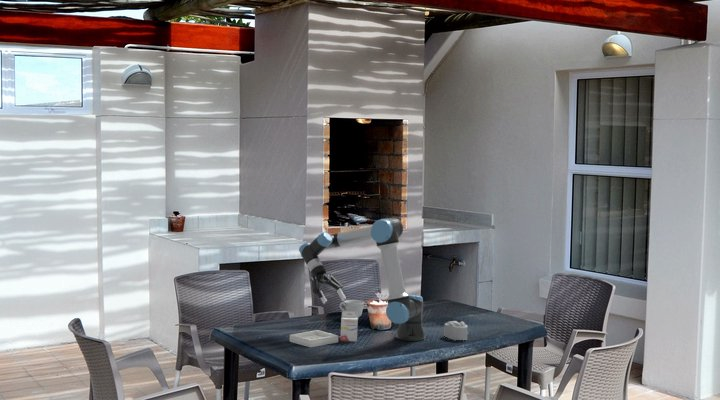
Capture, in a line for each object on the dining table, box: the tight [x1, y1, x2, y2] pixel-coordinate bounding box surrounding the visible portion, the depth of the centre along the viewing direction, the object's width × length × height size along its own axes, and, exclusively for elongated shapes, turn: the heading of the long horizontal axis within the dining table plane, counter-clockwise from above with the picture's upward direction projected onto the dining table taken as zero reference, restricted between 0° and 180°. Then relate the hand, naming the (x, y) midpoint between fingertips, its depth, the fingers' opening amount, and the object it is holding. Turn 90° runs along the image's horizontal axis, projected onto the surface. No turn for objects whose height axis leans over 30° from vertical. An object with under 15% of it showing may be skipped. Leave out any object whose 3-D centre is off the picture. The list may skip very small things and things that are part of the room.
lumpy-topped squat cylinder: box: [443, 320, 469, 342], centre depth 477 cm, size 10×13×9 cm
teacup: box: [339, 299, 365, 320], centre depth 519 cm, size 12×15×10 cm
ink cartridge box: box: [340, 310, 359, 342], centre depth 463 cm, size 9×5×15 cm, turn 92°
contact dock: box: [289, 329, 339, 348], centre depth 457 cm, size 16×19×4 cm
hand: (334, 301), depth 470 cm, fingers open, 13 cm apart
